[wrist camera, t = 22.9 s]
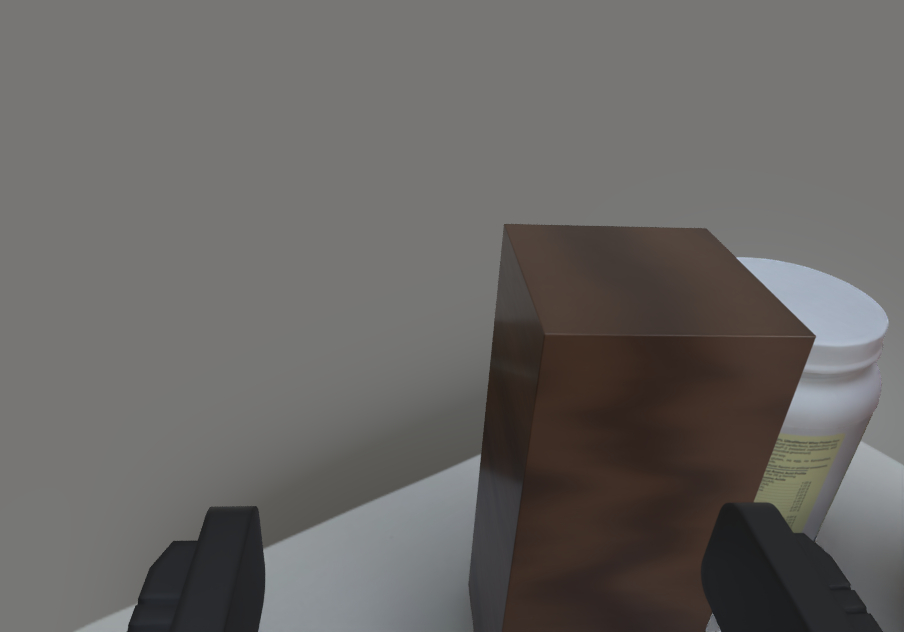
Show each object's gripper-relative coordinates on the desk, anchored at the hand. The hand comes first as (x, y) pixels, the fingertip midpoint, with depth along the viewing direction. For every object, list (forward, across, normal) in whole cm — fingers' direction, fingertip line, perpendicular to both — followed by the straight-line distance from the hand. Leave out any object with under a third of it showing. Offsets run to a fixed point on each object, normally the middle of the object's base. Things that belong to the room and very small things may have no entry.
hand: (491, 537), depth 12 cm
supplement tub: (+24, -20, +25) cm, 40 cm away
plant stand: (+14, -8, +25) cm, 29 cm away
